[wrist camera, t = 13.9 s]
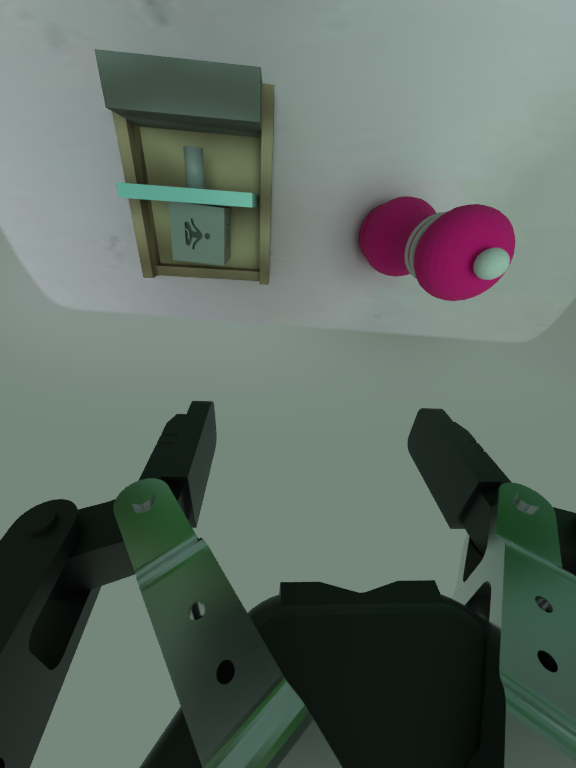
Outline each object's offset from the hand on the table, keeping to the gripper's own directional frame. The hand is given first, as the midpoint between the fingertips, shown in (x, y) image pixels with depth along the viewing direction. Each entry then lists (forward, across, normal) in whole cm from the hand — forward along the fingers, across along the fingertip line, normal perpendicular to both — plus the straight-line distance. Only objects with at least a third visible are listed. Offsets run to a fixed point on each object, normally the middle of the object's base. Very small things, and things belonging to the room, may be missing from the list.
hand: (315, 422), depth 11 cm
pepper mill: (+28, -11, -5) cm, 31 cm away
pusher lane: (+28, +9, -8) cm, 30 cm away
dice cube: (+28, +9, -4) cm, 29 cm away
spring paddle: (+27, +9, -9) cm, 30 cm away
